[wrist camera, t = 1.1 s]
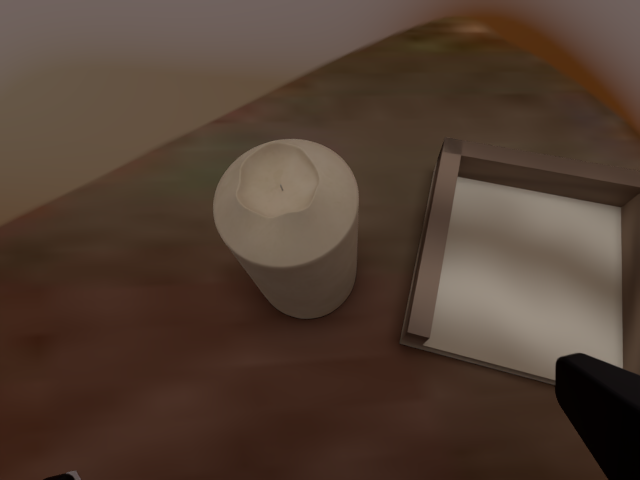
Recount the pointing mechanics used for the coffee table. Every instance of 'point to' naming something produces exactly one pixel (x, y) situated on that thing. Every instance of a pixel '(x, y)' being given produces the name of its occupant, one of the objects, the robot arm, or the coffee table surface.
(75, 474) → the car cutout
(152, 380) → the coffee table surface
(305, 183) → the candle
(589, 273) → the dock bay
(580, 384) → the robot arm
